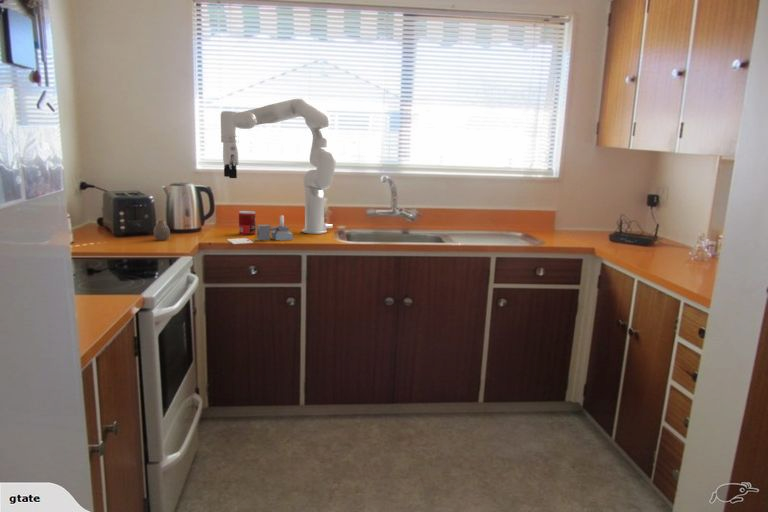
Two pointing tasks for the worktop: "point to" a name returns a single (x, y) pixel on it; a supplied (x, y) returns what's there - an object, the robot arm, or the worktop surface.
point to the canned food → (247, 223)
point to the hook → (268, 231)
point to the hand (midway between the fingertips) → (230, 177)
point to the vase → (161, 231)
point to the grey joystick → (282, 232)
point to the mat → (239, 241)
